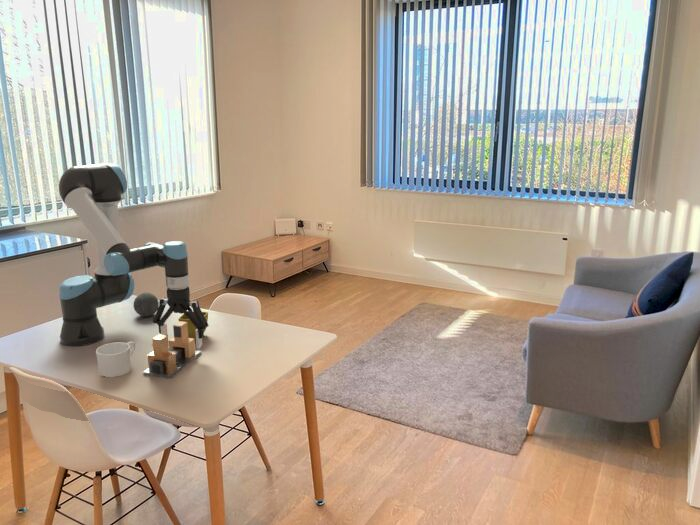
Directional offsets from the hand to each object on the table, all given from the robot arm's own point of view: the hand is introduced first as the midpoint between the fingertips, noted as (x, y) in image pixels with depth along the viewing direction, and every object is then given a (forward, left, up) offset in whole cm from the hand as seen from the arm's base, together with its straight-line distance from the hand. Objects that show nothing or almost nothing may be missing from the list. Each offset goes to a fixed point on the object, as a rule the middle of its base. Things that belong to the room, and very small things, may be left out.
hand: (182, 344), depth 199 cm
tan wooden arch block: (0, 0, -4) cm, 4 cm away
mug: (-15, -15, -5) cm, 22 cm away
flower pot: (-5, +17, -5) cm, 18 cm away
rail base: (0, -6, -5) cm, 8 cm away
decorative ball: (-36, +32, -5) cm, 48 cm away
